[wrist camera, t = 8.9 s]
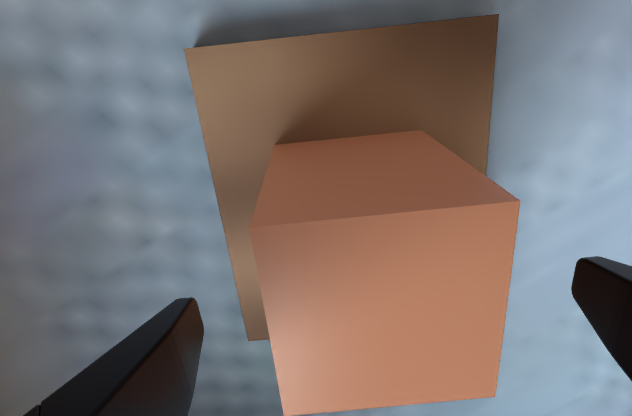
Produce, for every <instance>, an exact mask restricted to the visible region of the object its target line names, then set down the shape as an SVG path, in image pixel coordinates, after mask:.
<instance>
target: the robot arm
mask: <svg viewBox="0 0 632 416" xmlns="http://www.w3.org/2000/svg"><path fill="white" fill-rule="evenodd" d="M571 289H572V295H573V297H574V299H575V301H576V302H577V304H578V305H579V307H580V308H581V310H582V311H583V313H584V315H585V316H586V318H587V319H588V321H589V322H590V324H591V325H592V327H593V328H594V330H595V331H596V333H597V334H598V336H599V338H600V339H601V341H602V342H603V344H604V345H605V347H606V348H607V350H608V351H609V352H610V354H611V355H612V357H613V358H614V359H615V361H616V362H617V363H618V365H619V366H620V367H621V368H622V370H623V371H624V372H625V373H626V375H627V376H628V377H629V378H630V380H631V381H632V266H629V265H626V264H622V263H619V262H616V261H613V260H609V259H606V258H603V257H598V256H595V257H586V258H581V259H579V260H578V261H577V263H576V267H575V272H574V277H573V282H572V288H571ZM203 335H204V327H203V322H202V319H201V315H200V311H199V308H198V304H197V301H196V300H195V299H194V298H192V297H191V298H181V299H176V300H175V301H173V302H172V303H171V304H169V305H168V306H167V307H166V308H164V309H163V310H162V311H160V312H159V313H158V314H156V315H155V316H154V317H152V318H151V319H150V320H148V321H147V322H146V323H144V324H143V325H142V326H141V327H139V328H138V329H137V330H135V331H134V332H133V333H131V334H130V335H129V336H127V337H126V338H125V339H123V340H122V341H121V342H120V343H118V344H117V345H116V346H114V347H113V348H112V349H110V350H109V351H108V352H106V353H105V354H104V355H102V356H101V357H100V358H98V359H97V360H96V361H95V362H93V363H92V364H91V365H89V366H88V367H87V368H85V369H84V370H83V371H81V372H80V373H79V374H77V375H76V376H75V377H73V378H72V379H71V380H70V381H68V382H67V383H66V384H64V385H63V386H62V387H60V388H59V389H58V390H56V391H55V392H54V393H52V394H51V395H50V396H48V397H47V398H46V399H45V400H43V401H42V402H41V405H36V406H35V407H34V408H33V409H31V410H30V411H29V412H27V413H26V414H25V415H23V416H188V412H189V409H190V405H191V401H192V398H193V393H194V388H195V382H196V376H197V371H198V365H199V359H200V353H201V347H202V341H203Z"/></svg>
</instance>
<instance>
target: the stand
mask: <svg viewBox="0 0 632 416" xmlns="http://www.w3.org/2000/svg"><path fill="white" fill-rule="evenodd" d="M498 18H499V14H495V15H486V16H477V17H468V18H459V19H450V20H441V21H431V22H422V23H413V24H404V25H395V26H386V27H377V28H368V29H359V30H350V31H340V32H331V33H322V34H313V35H304V36H295V37H286V38H277V39H268V40H259V41H250V42H240V43H231V44H222V45H213V46H204V47H195V48H186V49H184V51H185V56H186V61H187V65H188V70H189V74H190V79H191V83H192V88H193V92H194V97H195V101H196V106H197V110H198V115H199V120H200V124H201V129H202V133H203V138H204V142H205V147H206V151H207V156H208V160H209V165H210V169H211V174H212V179H213V183H214V188H215V192H216V197H217V201H218V206H219V210H220V215H221V219H222V224H223V228H224V233H225V238H226V242H227V247H228V251H229V256H230V260H231V265H232V269H233V274H234V278H235V283H236V287H237V292H238V297H239V301H240V306H241V310H242V315H243V319H244V324H245V328H246V333H247V337H248V341H255V340H265V339H270V337H269V332H268V326H267V321H266V316H265V310H264V305H263V299H262V294H261V288H260V283H259V278H258V272H257V267H256V261H255V256H254V251H253V245H252V240H251V234H250V229H249V227H250V224H251V220H252V217H253V214H254V210H255V207H256V204H257V200H258V197H259V194H260V191H261V187H262V184H263V181H264V177H265V174H266V171H267V167H268V164H269V161H270V157H271V154H272V151H273V148H274V145H279V144H289V143H298V142H308V141H318V140H328V139H338V138H348V137H358V136H368V135H378V134H387V133H397V132H407V131H417V130H422V131H424V132H425V133H426V134H428V135H429V136H431V137H432V138H433V139H435V140H436V141H438V142H439V143H440V144H442V145H443V146H445V147H446V148H447V149H449V150H450V151H452V152H453V153H454V154H456V155H457V156H459V157H460V158H461V159H463V160H464V161H466V162H467V163H468V164H470V165H471V166H472V167H474V168H475V169H477V170H478V171H479V172H481V173H482V174H484V175H485V176H486V166H487V154H488V141H489V129H490V117H491V104H492V92H493V80H494V67H495V55H496V43H497V30H498Z"/></svg>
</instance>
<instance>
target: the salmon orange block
mask: <svg viewBox="0 0 632 416" xmlns="http://www.w3.org/2000/svg"><path fill="white" fill-rule="evenodd" d="M519 208H520V200H519V199H517V198H516V197H514V196H513V195H512V194H510V193H509V192H507V191H506V190H505V189H503V188H502V187H500V186H499V185H498V184H496V183H495V182H493V181H492V180H491V179H489V178H488V177H486V176H485V175H484V174H482V173H481V172H479V171H478V170H477V169H475V168H474V167H472V166H471V165H470V164H468V163H467V162H466V161H464V160H463V159H461V158H460V157H459V156H457V155H456V154H454V153H453V152H452V151H450V150H449V149H447V148H446V147H445V146H443V145H442V144H440V143H439V142H438V141H436V140H435V139H433V138H432V137H431V136H429V135H428V134H426V133H425V132H424V131H422V130H417V131H407V132H397V133H387V134H378V135H368V136H358V137H348V138H338V139H328V140H318V141H308V142H298V143H289V144H279V145H274V148H273V151H272V154H271V157H270V161H269V164H268V167H267V171H266V174H265V177H264V181H263V184H262V187H261V191H260V194H259V197H258V200H257V204H256V207H255V210H254V214H253V217H252V220H251V224H250V227H249V229H250V234H251V240H252V245H253V251H254V256H255V261H256V267H257V272H258V278H259V283H260V288H261V294H262V299H263V305H264V310H265V316H266V321H267V326H268V332H269V337H270V343H271V348H272V354H273V359H274V364H275V370H276V375H277V381H278V386H279V392H280V397H281V402H282V408H283V413H284V416H293V415H304V414H314V413H325V412H336V411H347V410H357V409H368V408H379V407H390V406H401V405H411V404H422V403H433V402H444V401H454V400H465V399H476V398H487V397H495V395H496V388H497V380H498V372H499V364H500V356H501V349H502V341H503V333H504V325H505V317H506V310H507V302H508V294H509V286H510V278H511V271H512V263H513V255H514V247H515V239H516V232H517V224H518V216H519Z"/></svg>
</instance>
